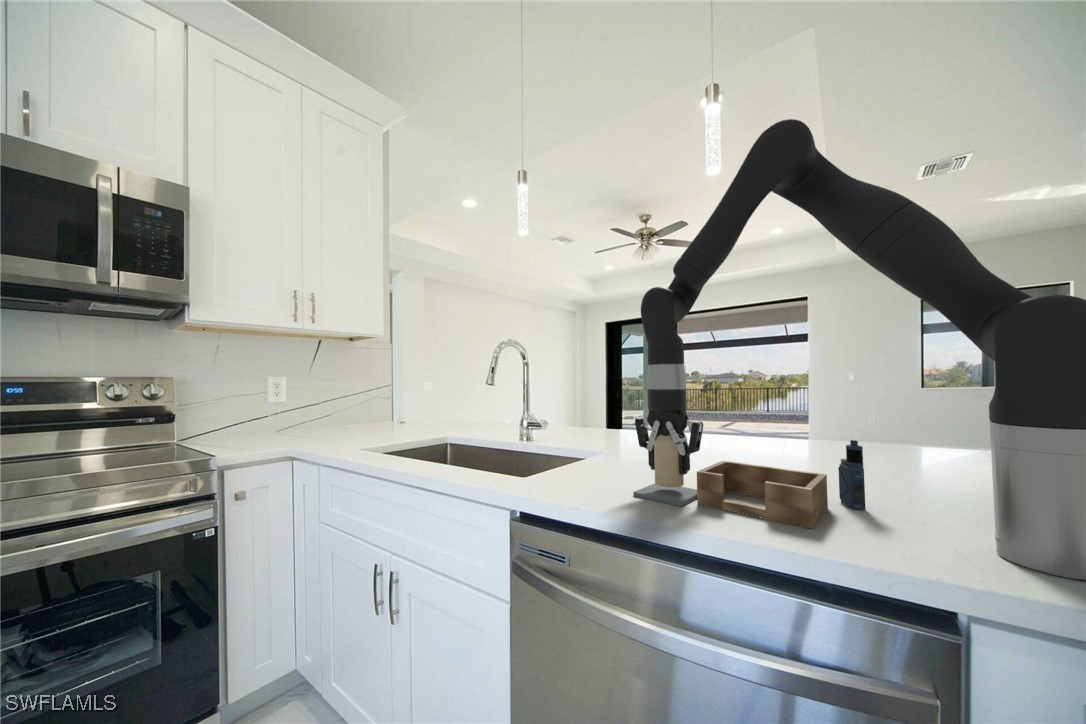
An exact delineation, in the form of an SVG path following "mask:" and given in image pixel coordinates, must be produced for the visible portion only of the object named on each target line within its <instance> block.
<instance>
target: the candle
mask: <svg viewBox="0 0 1086 724" xmlns="http://www.w3.org/2000/svg"><path fill="white" fill-rule="evenodd" d="M679 455H680V453H679V451H678V448H677V444H675V443H674V442H673V439H672V437H671V435H668V436H664V435H659V436H658V437H657V438H656V439H655V441H654V465H655V470H654V483H655V484H657V485H659V486H663V487H684V483H685V482H684V481H685V480H684V478H685V477H684V476H685V475H682V474H680V473H679Z"/></svg>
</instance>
